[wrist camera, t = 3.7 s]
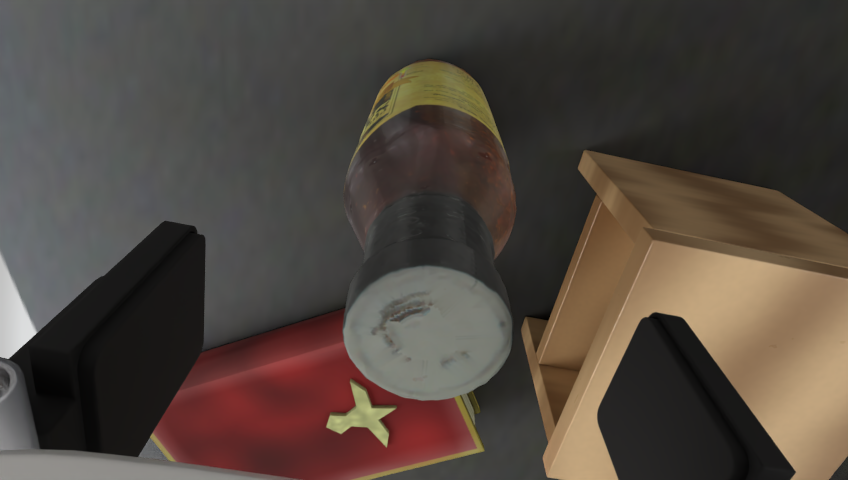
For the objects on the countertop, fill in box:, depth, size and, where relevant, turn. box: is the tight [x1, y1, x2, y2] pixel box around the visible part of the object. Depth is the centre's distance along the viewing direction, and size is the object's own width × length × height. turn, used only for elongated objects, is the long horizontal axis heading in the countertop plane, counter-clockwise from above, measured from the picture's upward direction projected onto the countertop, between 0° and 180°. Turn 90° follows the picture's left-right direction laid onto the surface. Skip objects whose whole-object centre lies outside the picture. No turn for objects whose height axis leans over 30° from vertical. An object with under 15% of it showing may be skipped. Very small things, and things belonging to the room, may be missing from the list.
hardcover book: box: [150, 308, 484, 480], centre depth 37 cm, size 12×21×4 cm, turn 110°
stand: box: [521, 150, 848, 480], centre depth 28 cm, size 13×13×12 cm
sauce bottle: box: [342, 59, 517, 401], centre depth 21 cm, size 6×6×20 cm
